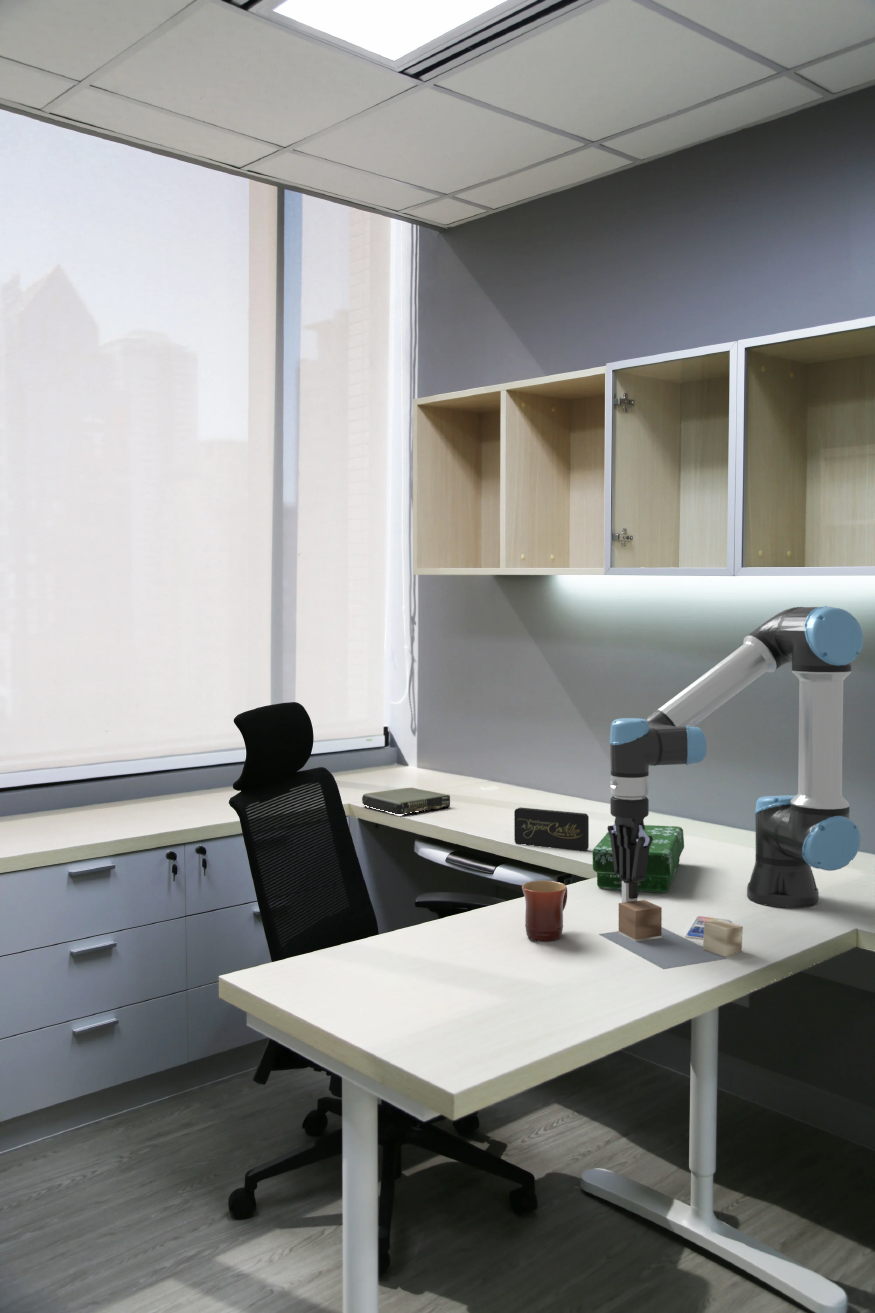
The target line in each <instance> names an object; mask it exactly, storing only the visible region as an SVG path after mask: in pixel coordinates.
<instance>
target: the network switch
mask: <svg viewBox="0 0 875 1313" xmlns="http://www.w3.org/2000/svg"><path fill="white" fill-rule="evenodd" d="M361 802H362V805H363V804H364V805H367V806H369V807H373V808H376V809H380V810H384V811H388V812H392V813H395V814H405V813H409V812H414V813H415V811H422V810H427V811H428V810H429V811H431V810H430V809H434V810H437V809H444V808H443V807H449V808H450V806H451V795H450V794H446V793H440V792H435V791H430V790H425V789H422V788H421V789H419V788H416V787H403V788H397V789H396V788H395V789H388V790H387V789H386V790H381V791H373V792H367V793H364V794H363V795H362V797H361ZM364 805H363V806H364ZM422 812H423V811H422ZM409 814H410V813H409Z"/></svg>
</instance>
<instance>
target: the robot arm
mask: <svg viewBox="0 0 875 1313" xmlns="http://www.w3.org/2000/svg"><path fill="white" fill-rule="evenodd" d="M742 642H743V644H742V645H741V646H739V647H738V648H737V649H735V650H734V651H733V652H731V653H729V655H727V657H725V658H724V659H722V660H721V661H719V662H718V663H717V664H716V665H714V666H713V667H712V668H711V669H709V670H708V671H706V672H705V673H704V674H703V675H701V676H699V678H697V679H696V680H695V681H693V682H692V683H691V684H689V685H688V686H686V687H685V688H684V689H683V690H682V691H680V692H679V693H678V694H676V695H674V697H672V698H671V699H669V700H668V701H666V703H665V704H663V705H661V706H660V707H659V708H658V709H656V710H655V711H654V712H652V713H651V714H649V715H648V716H647V717H645V718H638V717H635V718H634V717H630V718H629V717H624V718H623V717H621V718H616V719H614V720H613V721H612V722H611V724H610V733H609V747H610V749H609V750H610V754H609V755H610V756H609V757H610V782H609V783H610V784H609V785H610V794H611V795H612V796H611V797H610V800H609V801H610V808H609V809H610V810H609V811H610V812H609V813H610V815H611V816H612V817H614V823H613V824H612V825H607V833H608V832H609V835H610V840H611V848H612V856H613V864H614V872H615V874H616V875H617V874H618V875H619V878H620V879H621V890H620V891H621V903H623V902H631V901H638V898H639V891H638V882H639V881H644V880H645V877H646V870H647V863H648V856H649V849H650V845H651V843H652V841H653V838H652V836H647V834H646V833H645V826H644V825H645V823H644V819H645V818H646V817H648V816H649V812H650V809H649V808H650V807H649V806H650V804H649V802H650V800H649V798H648V797H647V796H648V795H649V794H650V780H649V777H650V776H649V775H650V771H649V769H650V766H651V767H652V766H653V767H654V766H669V765H671V766H673V765H686V766H689V765H693V764H700V763H701V762H703V761H704V759H705V758H706V756H707V752H708V742H707V741H708V740H707V738H706V735H705V732H704V731H703V729H701V728H700V727H698V726H696V725H698V724H699V723H700V722H702V721H703V720H704V719H706V717H708V716H709V715H711V714H713V712H714V711H716V710H717V709H719V708H720V707H722V706H723V705H724V704H725V703H726V702H728V701H729V700H731V699H732V698H733V697H734V696H736V695H737V694H739V692H741V691H742V690H744V689H745V688H746V687H749V685H750V684H752V683H753V682H754V681H755V680H757V679H758V678H760V677H761V676H762V675H763V674H765V673H767V672H768V673H774V672H775V671H777V669H779V668H780V667H783V666H784V665H787V664H789V663H791V673H792V674H793V675H794V676H795V677H796V678H797V679H798V681H799V684H798V685H799V688H798V689H799V691H798V694H799V696H798V698H799V699H798V702H799V703H798V764H797V765H798V767H797V768H798V774H797V775H798V777H797V778H798V779H797V780H798V782H797V789H798V791H797V794H796V795H795V794H794V795H793V794H792V795H791V794H789V795H787V794H785V795H784V794H783V795H765V796H760V797H759V798H758V799H757V800H756V803H755V812H754V816H755V857H754V858H755V861H754V866H753V869H752V872H751V875H750V878H749V882H748V884H747V886H746V897H747V898H748V899H749V900H750V901H753V902H754V903H757V904H760V905H764V906H769V907H776V908H793V909H794V908H807V907H812V906H815V905H818V903H819V894H820V892H819V889H818V886H817V884H816V879H815V876H814V873H813V870H812V868H814V869H818V870H823V871H828V872H829V871H830V872H831V871H838V870H841V869H842V868H845V867H846V866H848V865H849V863H850V862H852V861H853V860H854V859H856V858H855V857H856V856H857V855H858V852H859V850H860V847H861V840H862V837H861V832H860V830H859V827H858V826H857V825H856V824H855V822H854V821H853V820H851V819H850V803H849V801H848V800H846V798H845V797H843V737H844V736H843V734H844V733H843V730H844V729H843V728H844V723H843V721H844V681H845V679H847V677H849V675H851V673H852V662H853V661H854V660H856V659H857V658H858V657H857V656H859V654H860V653H861V651H862V650H863V645H864V632H863V629H862V626H861V625H860V623H859V621H858V620H857V618H856V617H854V615H853V614H852V613H850V612H849V611H847V610H845V609H842V608H839V607H833V606H828V605H827V606H826V605H824V606H816V607H815V606H814V607H813V606H811V607H809V606H806V607H804V606H797V607H796V606H795V607H791V608H788V609H787V608H786V609H785V610H784V609H783V611H780V612H779V613H777V614H775V615H773V616H772V617H770V618H769V619H768V620H766V621H765V622H763V623H762V624H761V625H759V626H758V627H757V628H755V629H753V630H752V631H751V632H749V634H747V635H746V636H745V637H744V638H743V641H742Z"/></svg>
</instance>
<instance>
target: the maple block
mask: <svg viewBox="0 0 875 1313" xmlns="http://www.w3.org/2000/svg"><path fill="white" fill-rule="evenodd" d="M743 926H744V925H740V924H738V923H737V924H736V923H733V922H732V923H730V922H727V921H724V920H717V921H712V922H707V923H704V939H703V940H702V942H703V944H702V945H703V946H702V947H703V950H706V951H709V952H712V953H715V954H718V955H721V956H723V957H729V956H731V955H734V954H737V953H741V952H742V950H743V947H742V946H743V935H744V934H743V933H744V932H743V930H744V927H743Z"/></svg>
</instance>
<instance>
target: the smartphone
mask: <svg viewBox="0 0 875 1313" xmlns="http://www.w3.org/2000/svg"><path fill="white" fill-rule="evenodd" d="M717 920H724V921H727V922H730V923H733V922H732V920H731V919H723V918H717V917H710V916H701V915H700V916H699V915H698V916H696V917H695V919H694V920H693V922H692V923H691V925H690V927H688V930H687V931H686V934H684V938H686V939H690V940H691V939H694V940H700V941H703V939H704V923H707V922H712V921H717Z"/></svg>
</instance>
